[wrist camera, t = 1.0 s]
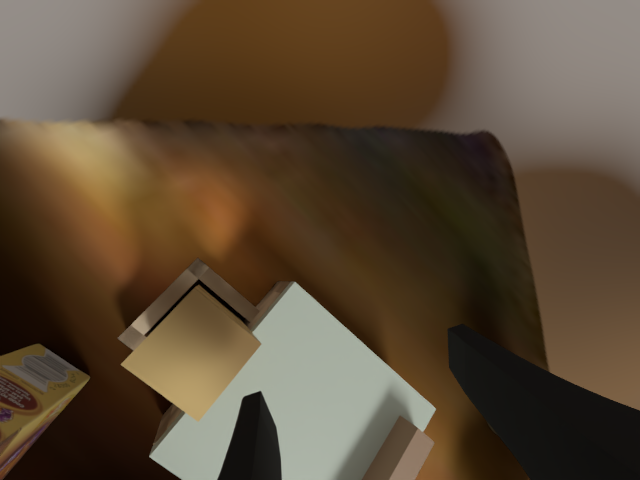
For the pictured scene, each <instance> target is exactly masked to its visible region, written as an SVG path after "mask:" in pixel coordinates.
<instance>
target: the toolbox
mask: <svg viewBox="0 0 640 480" xmlns="http://www.w3.org/2000/svg"><path fill="white" fill-rule="evenodd" d="M198 280H201V281H202V282H203V283H204V284H205V285H206V286H208V287H209V288H210V289H211V290H212V291H214V292H215V293H216V294H217V295H218V296H219V297H221V298H222V299H223V300H224V301H225V302H227V303H228V304H229V305H230V306H231V307H233V308H234V309H235V310H236V311H237V312H238V313H240V314H241V315H242V316H243V317H244V318H246V319H245V320H244V321H243V323H244V324H245V325H246V326H247V327H248V328H249V330H251V329H252V328H253V326H254V325H255V324H256V323H257V322H258V320H259V319H260V318H261V317H262V316H263V315H264V313H265V312H266V311H267V310H268V309H269V307H270V306H271V305H272V304H273V303H274V301H275V300H276V299H277V298H278V297H279V295H280V294H281V293H282V292H283V291H284V289H285V288H286V287H287V286H288V285H289V284H290V282H285V281H278V282H277V283H276V284H275V285H274V286H273V287H272V289H271V290H270V291H269V292H268V293H267V294H266V296H265V297H264V298H263V299H262V300H261V301H260V303H259V304H258V305H257V306H256V307H255V306H254V305H252V304H251V303H250V302H249V301H248V300H247V299H245V298H244V297H243V296H242V295H241V294H240V293H238V292H237V291H236V290H235V289H234V288H233V287H231V286H230V285H229V284H228V283H227V282H226V281H224V280H223V279H222V278H221V277H220V276H219V275H217V274H216V273H215V272H214V271H213V270H212V269H210V268H209V267H208V266H207V265H206V264H205V263H203V262H202V261H201V260H200V259H199V258H197V259H196V260H195V261H194V262H193V263H192V264H191V265H190V266H189V267H188V268H187V269H186V270H185V271H184V272H183V273H182V274H181V275H180V276H179V277H178V278H177V279H176V280H175V281H174V282H173V283H172V284H171V285H170V286H169V287H168V288H167V289H166V290H165V291H164V292H163V293H162V294H161V295H160V296H159V297H158V298H157V299H156V300H155V301H154V302H153V303H152V304H151V305H150V306H149V307H148V308H147V309H146V310H145V311H144V312H143V313H142V314H141V315H140V316H139V317H138V318H137V319H136V320H135V321H134V322H133V323H132V324H131V325H130V326H129V327H128V328H127V329H126V330H125V331H124V332H123V333H122V334H121V335H120V336H119V337H118V339H119V340H120V341H121V342H123V343H124V344H125V345H127V346H128V347H129V348H131V349H132V350H133V351H134V350H135V349H136V348H137V347H138V346H139V345H140V344H141V343H142V342H143V341H144V340H145V339H146V338H147V337H148V336H149V334H150V333H151V332H152V330H151V328H152V327H153V326H154V325H155V324H156V323H157V322H158V321H159V320H160V319H161V318H162V317H163V316H164V315H165V314H166V313H167V312H168V311H169V310H170V309H171V308H172V307H173V306H174V305H175V304H176V303H177V301H178V300H179V299H180V298H181V297H182V296H183V295H184V294H185V293H186V292H187V291H188V290H189V289H190V288H191V287H192V286H193V285H194V284H195V283H196V282H197V281H198ZM182 411H183V410H181V409H180V408H179V407H177V406H176V405H174V404H172V405H171V406H170V408H169V409H168V410H167V411H166V412H165V413H164V415H163V416H162V419H161V422H160V425H159V428H158V431H157V434H156V437H155V440H154V443H153V445H154V444H155V443H156V442H157V441H158V440H159V438H160V437H161V436H162V435H163V434H164V433H165V431H166V430H167V429H168V428H169V427H170V425H171V424H172V423H173V422H174V421H175V419H176V418H177V417H178V416H179V415H180V413H181V412H182Z"/></svg>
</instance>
